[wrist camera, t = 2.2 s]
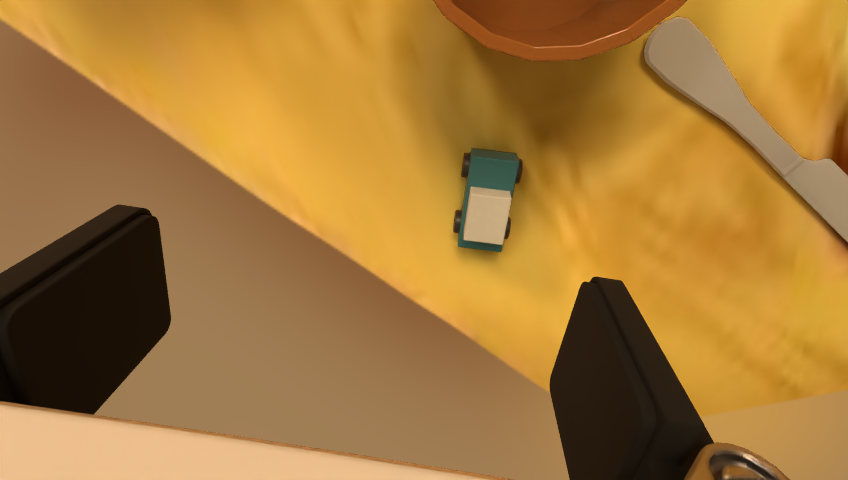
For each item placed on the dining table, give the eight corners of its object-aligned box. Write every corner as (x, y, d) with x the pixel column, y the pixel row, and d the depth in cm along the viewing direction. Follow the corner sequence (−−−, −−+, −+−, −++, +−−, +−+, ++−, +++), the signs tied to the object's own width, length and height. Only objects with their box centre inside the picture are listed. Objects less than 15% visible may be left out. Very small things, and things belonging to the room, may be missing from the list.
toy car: (504, 237, 30) (509, 263, 27) (452, 230, 30) (451, 256, 27) (522, 151, 28) (528, 170, 25) (465, 144, 28) (465, 162, 25)
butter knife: (683, 1, 23) (635, 51, 24) (949, 280, 29) (899, 310, 30) (679, 1, 24) (632, 51, 25) (943, 276, 29) (893, 306, 30)
